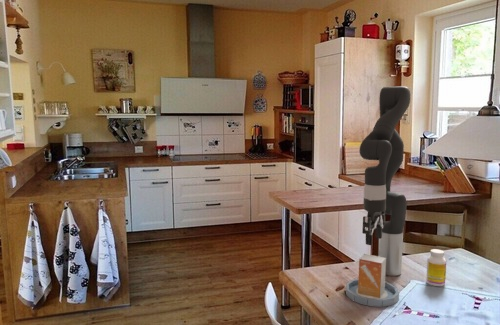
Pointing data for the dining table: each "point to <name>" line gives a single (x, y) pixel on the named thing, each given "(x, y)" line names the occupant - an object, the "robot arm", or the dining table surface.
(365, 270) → the small box
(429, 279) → the supplement bottle
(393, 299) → the grey shallow round dish
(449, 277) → the dining table surface
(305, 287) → the dining table surface
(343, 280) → the dining table surface
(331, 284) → the dining table surface
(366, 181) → the robot arm
